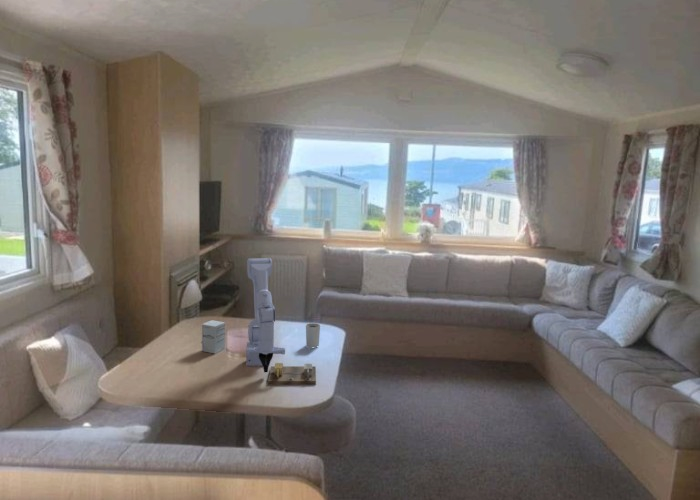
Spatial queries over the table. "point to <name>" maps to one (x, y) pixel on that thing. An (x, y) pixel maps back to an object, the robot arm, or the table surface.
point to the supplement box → (213, 336)
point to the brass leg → (278, 369)
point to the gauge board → (294, 375)
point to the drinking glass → (312, 334)
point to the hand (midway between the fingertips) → (265, 371)
